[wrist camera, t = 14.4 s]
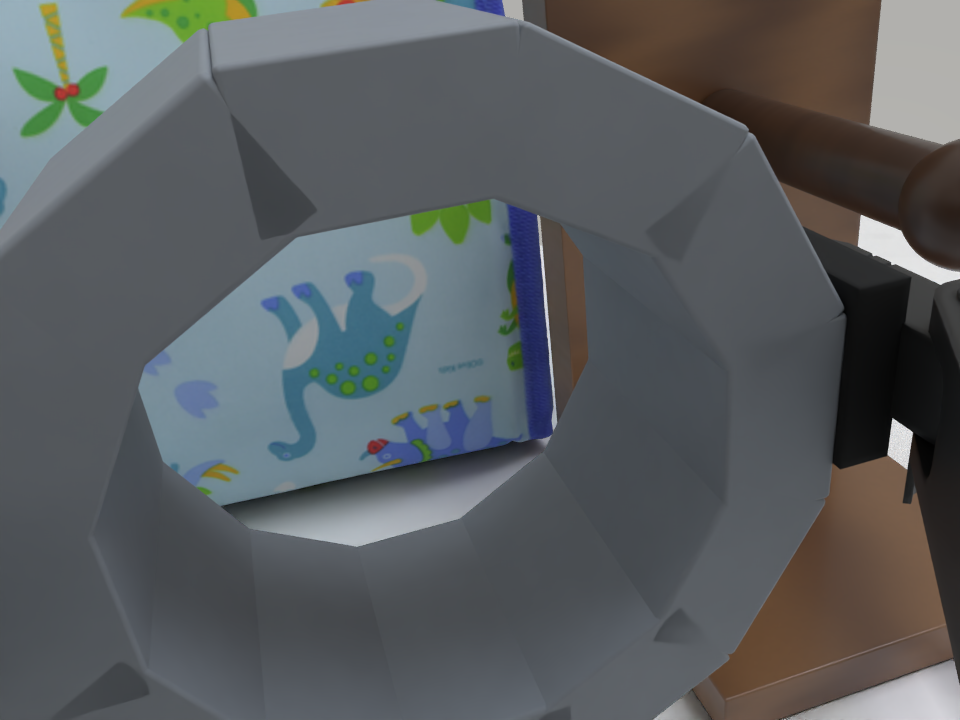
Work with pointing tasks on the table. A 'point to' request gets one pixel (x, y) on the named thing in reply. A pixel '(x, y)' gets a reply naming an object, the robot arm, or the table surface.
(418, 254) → the lunch bag
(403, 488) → the table surface
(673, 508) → the tape
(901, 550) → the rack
